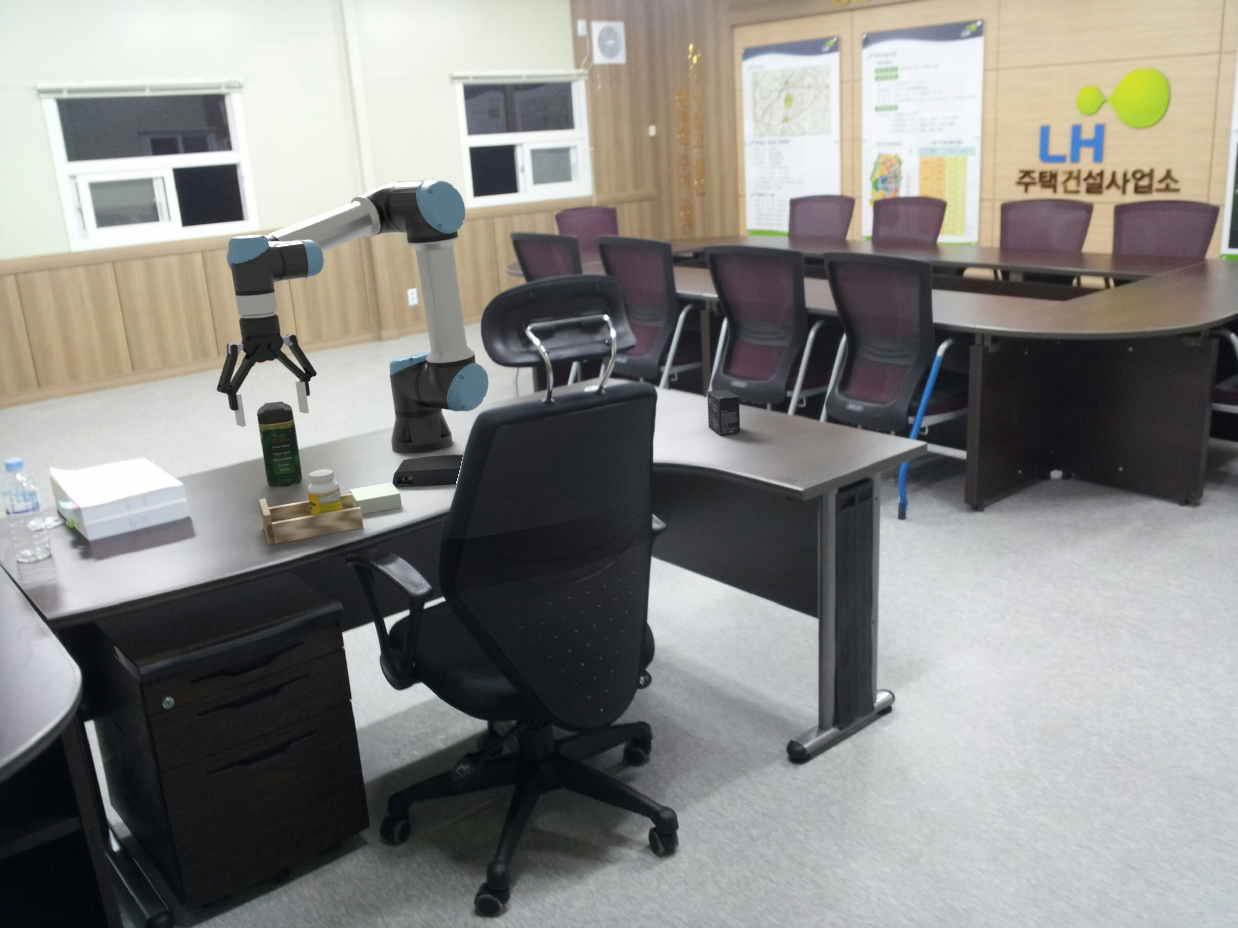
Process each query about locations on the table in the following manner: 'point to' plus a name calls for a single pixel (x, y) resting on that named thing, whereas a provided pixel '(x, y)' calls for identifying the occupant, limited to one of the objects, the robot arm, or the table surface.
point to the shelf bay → (307, 520)
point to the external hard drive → (428, 471)
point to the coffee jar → (279, 444)
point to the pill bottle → (323, 492)
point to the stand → (376, 498)
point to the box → (723, 412)
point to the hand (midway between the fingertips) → (273, 419)
